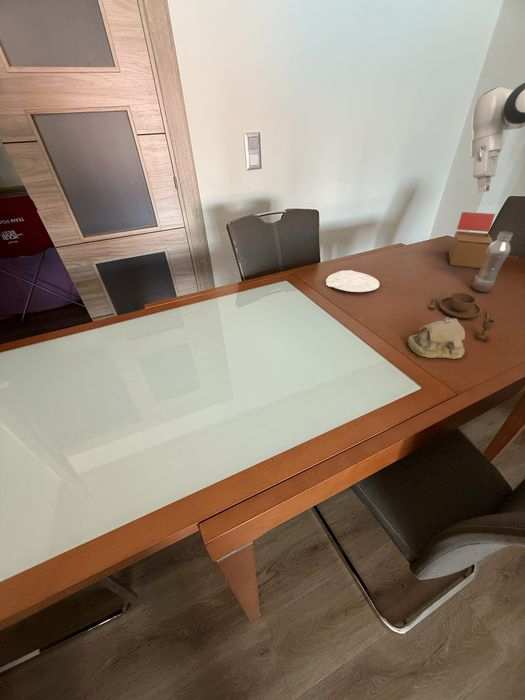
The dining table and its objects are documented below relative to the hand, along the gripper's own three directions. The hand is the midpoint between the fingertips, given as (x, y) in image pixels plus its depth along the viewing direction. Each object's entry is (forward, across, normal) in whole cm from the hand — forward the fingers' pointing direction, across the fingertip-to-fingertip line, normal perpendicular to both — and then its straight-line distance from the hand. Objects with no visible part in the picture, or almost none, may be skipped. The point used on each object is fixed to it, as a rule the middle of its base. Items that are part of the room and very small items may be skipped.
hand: (483, 191), depth 109 cm
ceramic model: (+39, -57, +1) cm, 69 cm away
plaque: (+23, -36, +35) cm, 56 cm away
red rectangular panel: (+11, +15, +4) cm, 19 cm away
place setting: (+36, -37, 0) cm, 52 cm away
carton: (+25, +10, +7) cm, 28 cm away
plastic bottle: (+33, -14, -2) cm, 36 cm away
